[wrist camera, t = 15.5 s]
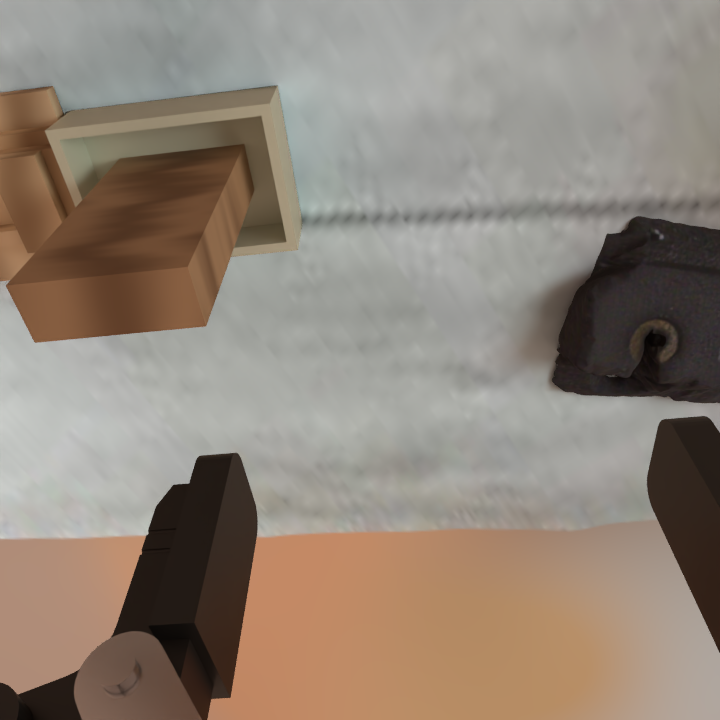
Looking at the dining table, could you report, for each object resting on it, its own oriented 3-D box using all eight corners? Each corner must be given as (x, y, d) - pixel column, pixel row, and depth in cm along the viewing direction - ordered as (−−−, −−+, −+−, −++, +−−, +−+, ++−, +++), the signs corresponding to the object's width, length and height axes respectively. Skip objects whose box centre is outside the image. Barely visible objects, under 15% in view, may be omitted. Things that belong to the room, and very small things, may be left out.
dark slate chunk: (780, 412, 55) (812, 452, 51) (533, 379, 53) (547, 417, 49) (898, 253, 46) (947, 286, 42) (605, 205, 44) (628, 236, 40)
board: (244, 143, 40) (187, 266, 27) (254, 190, 41) (205, 326, 29) (119, 158, 40) (5, 285, 27) (135, 203, 42) (34, 342, 29)
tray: (277, 85, 39) (269, 103, 35) (302, 223, 44) (297, 249, 41) (70, 110, 40) (44, 130, 36) (119, 242, 45) (100, 270, 42)
